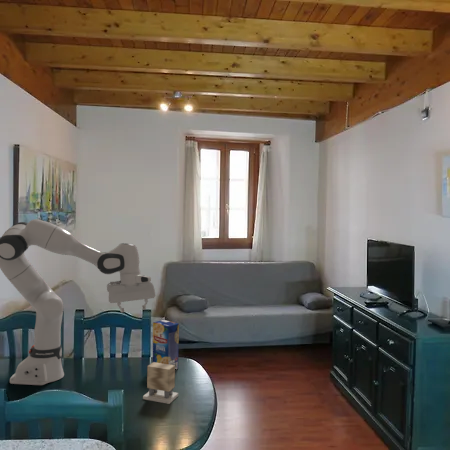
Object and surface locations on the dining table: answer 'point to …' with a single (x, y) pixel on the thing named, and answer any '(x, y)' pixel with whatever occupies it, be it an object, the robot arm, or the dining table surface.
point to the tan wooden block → (161, 376)
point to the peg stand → (160, 396)
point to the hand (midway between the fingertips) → (133, 310)
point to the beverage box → (165, 342)
